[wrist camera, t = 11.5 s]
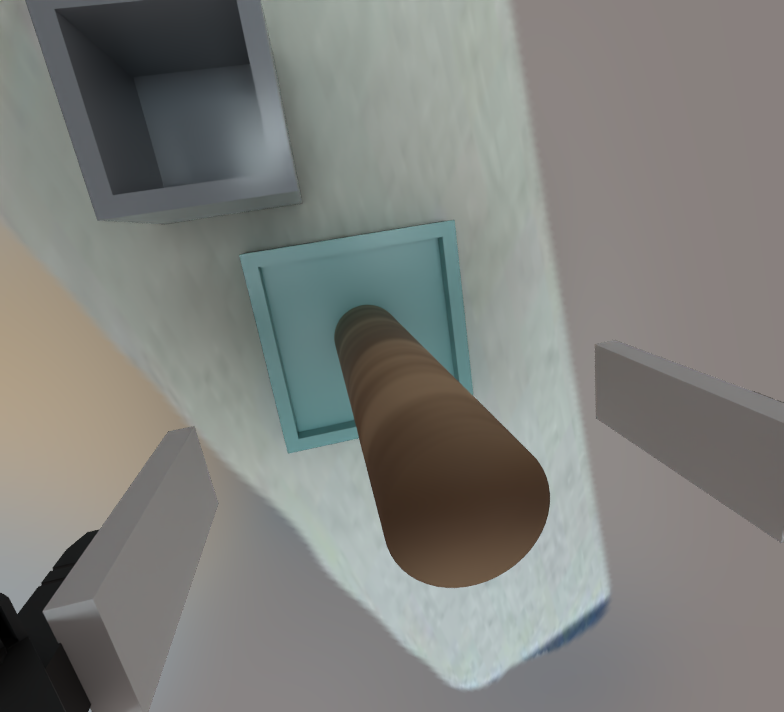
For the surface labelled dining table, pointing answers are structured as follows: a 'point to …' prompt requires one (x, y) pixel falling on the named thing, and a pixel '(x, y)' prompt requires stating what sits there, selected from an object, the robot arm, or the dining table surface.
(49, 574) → the robot arm
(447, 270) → the tray
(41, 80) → the dining table surface
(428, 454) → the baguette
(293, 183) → the open box
